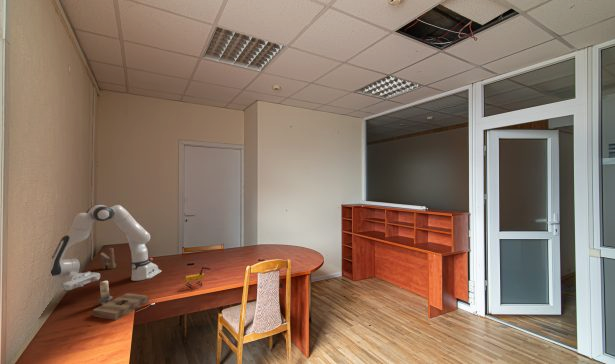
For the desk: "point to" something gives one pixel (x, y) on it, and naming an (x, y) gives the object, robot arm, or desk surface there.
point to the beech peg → (104, 293)
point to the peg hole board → (120, 306)
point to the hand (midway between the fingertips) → (90, 282)
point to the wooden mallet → (105, 260)
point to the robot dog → (193, 277)
